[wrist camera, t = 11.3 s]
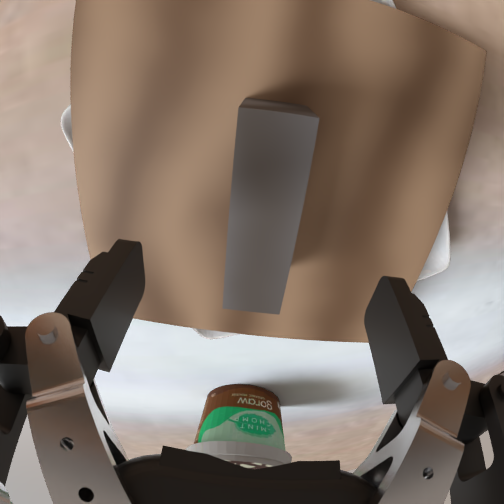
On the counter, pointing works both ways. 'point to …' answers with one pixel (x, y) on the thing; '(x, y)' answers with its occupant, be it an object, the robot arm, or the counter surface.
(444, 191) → the cover board
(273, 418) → the food container
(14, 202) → the counter surface
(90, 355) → the robot arm
